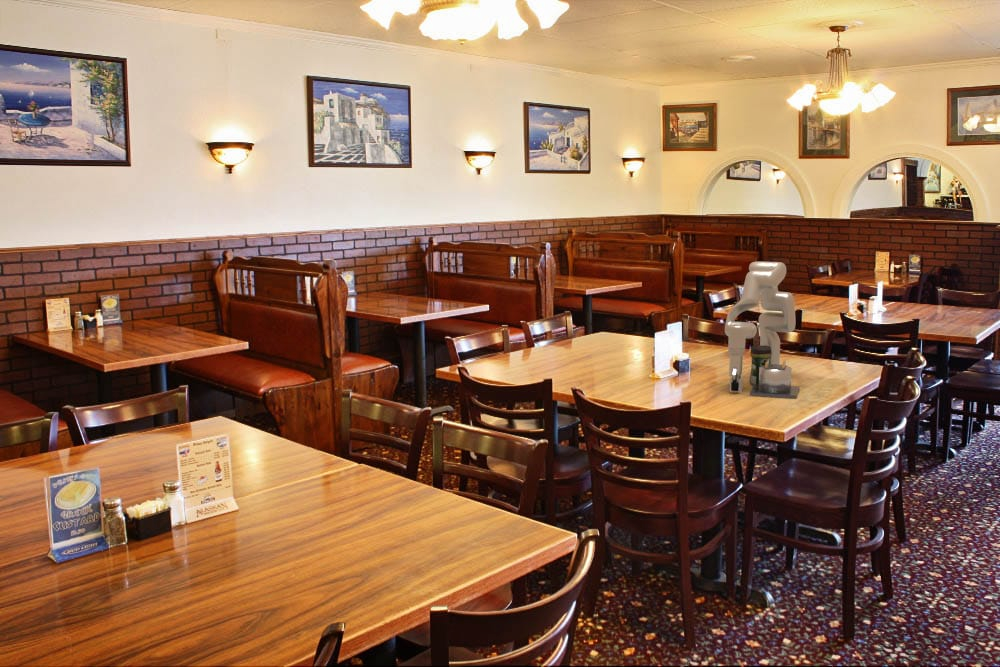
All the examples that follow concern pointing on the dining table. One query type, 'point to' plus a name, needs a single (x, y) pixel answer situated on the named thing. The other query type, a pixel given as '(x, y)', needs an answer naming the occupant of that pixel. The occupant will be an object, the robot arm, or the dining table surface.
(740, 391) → the white block with knob
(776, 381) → the cylinder on square plate
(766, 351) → the coffee jar
